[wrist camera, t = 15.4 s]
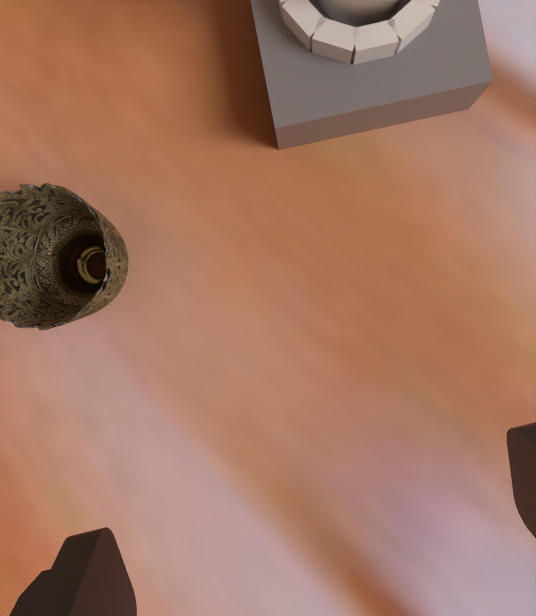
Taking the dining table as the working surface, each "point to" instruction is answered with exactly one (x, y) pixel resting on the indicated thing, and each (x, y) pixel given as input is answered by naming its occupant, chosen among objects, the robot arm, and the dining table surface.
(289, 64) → the square base with ring
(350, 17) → the domed cylinder with band
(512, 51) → the dining table surface
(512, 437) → the robot arm
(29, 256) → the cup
